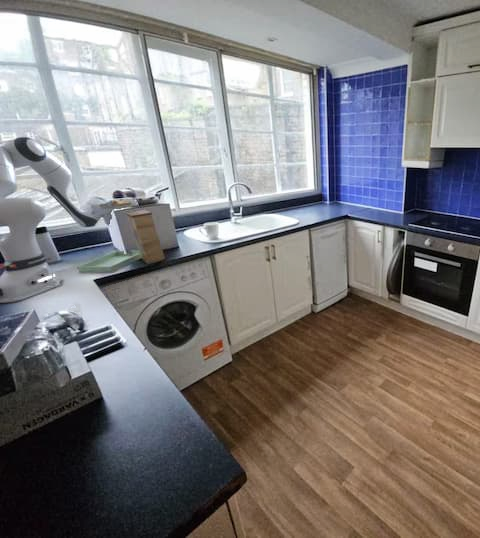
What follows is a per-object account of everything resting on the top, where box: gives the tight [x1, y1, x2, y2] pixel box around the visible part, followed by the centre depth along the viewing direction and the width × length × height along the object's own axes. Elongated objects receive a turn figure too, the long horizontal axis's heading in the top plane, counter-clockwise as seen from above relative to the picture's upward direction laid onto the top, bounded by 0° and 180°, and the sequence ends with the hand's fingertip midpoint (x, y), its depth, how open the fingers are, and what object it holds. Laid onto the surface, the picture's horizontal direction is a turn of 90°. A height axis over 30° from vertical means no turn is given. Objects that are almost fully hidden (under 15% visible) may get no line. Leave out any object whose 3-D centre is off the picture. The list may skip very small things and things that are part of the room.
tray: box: [76, 250, 142, 273], centre depth 156 cm, size 24×18×3 cm
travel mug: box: [35, 225, 62, 265], centre depth 157 cm, size 6×7×20 cm
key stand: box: [125, 209, 166, 265], centre depth 155 cm, size 11×9×26 cm
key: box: [112, 199, 131, 206], centre depth 154 cm, size 18×5×1 cm, turn 50°
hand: (116, 201), depth 156 cm, fingers closed on key, 3 cm apart
